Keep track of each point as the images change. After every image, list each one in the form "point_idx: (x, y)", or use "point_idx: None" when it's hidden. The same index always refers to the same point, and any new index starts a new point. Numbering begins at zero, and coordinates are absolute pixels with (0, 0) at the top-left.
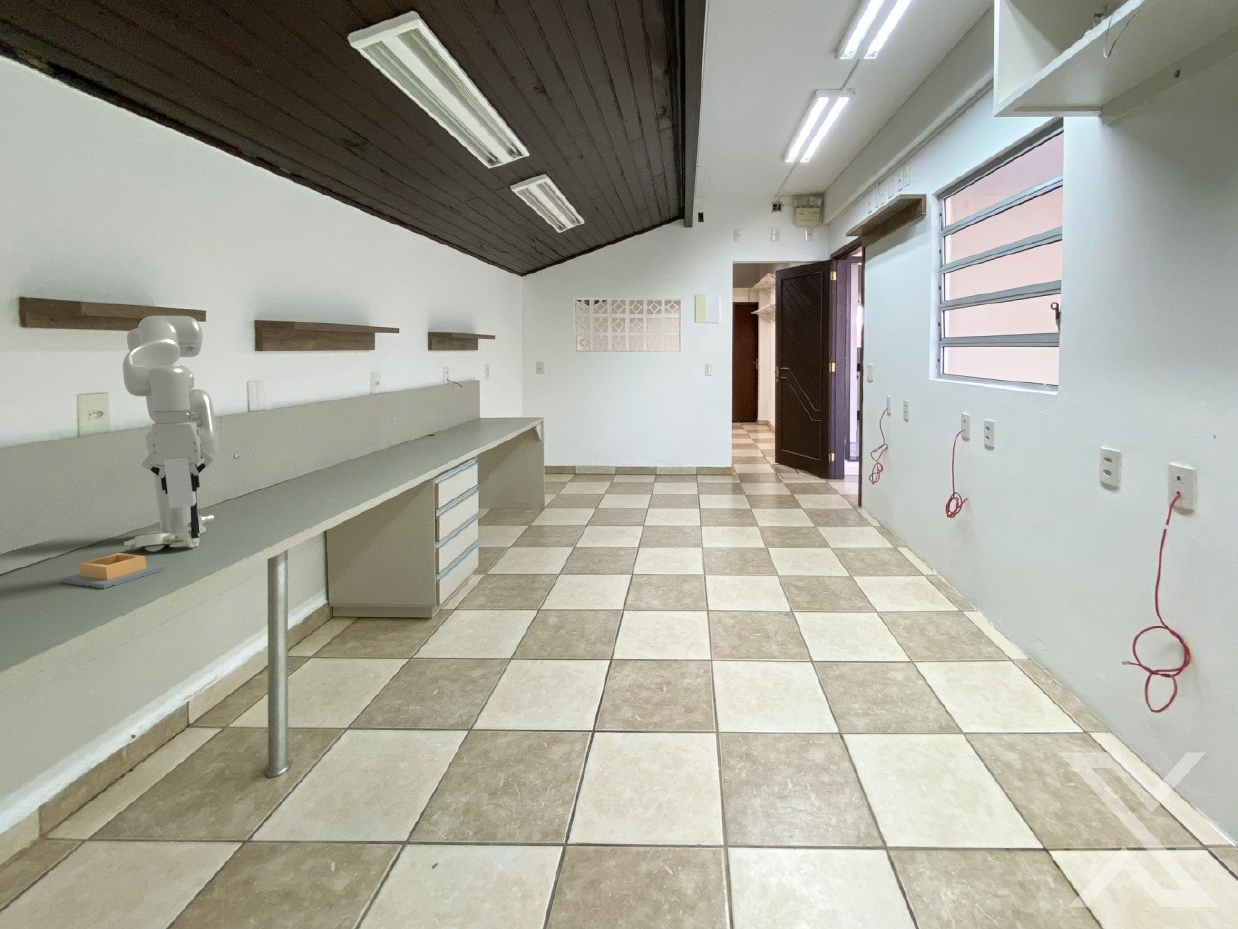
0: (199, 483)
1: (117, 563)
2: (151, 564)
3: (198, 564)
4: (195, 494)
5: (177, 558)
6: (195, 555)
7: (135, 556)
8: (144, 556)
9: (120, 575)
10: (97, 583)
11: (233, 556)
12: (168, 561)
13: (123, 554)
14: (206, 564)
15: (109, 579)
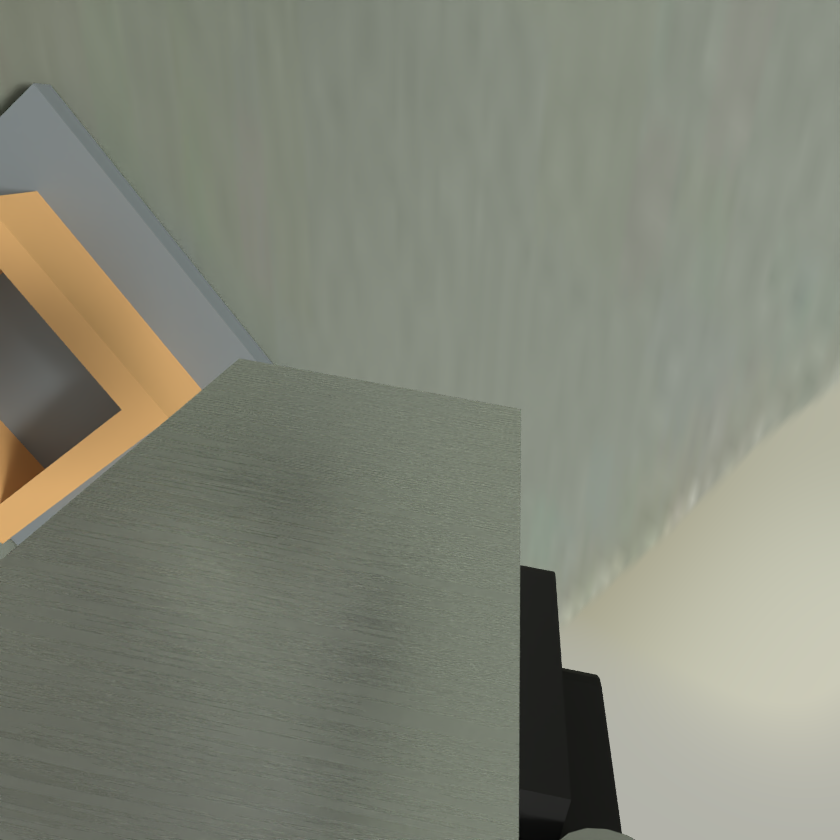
0: (600, 708)
1: (44, 501)
2: (220, 317)
3: (483, 396)
4: (519, 458)
5: (366, 129)
6: (483, 118)
7: (113, 390)
8: (167, 418)
9: (93, 475)
10: (16, 542)
11: (708, 334)
12: (312, 182)
13: (25, 272)
14: (526, 428)
15: (55, 504)
